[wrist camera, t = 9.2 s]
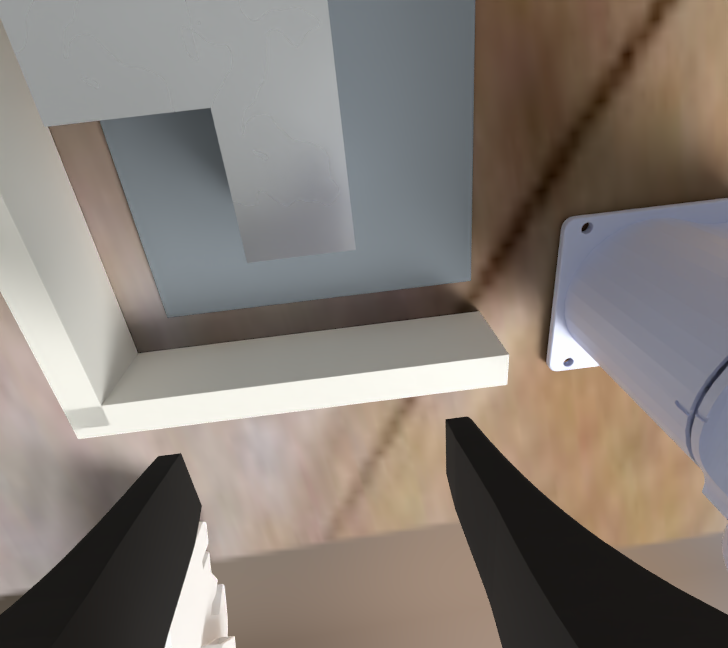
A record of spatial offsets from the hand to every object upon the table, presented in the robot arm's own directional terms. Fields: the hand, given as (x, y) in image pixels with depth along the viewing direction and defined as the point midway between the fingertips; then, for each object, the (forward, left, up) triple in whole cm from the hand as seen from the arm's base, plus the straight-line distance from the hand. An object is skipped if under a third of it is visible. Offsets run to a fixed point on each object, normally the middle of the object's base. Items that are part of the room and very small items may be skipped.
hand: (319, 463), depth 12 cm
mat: (0, -7, -10) cm, 12 cm away
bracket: (+2, -8, -10) cm, 13 cm away
